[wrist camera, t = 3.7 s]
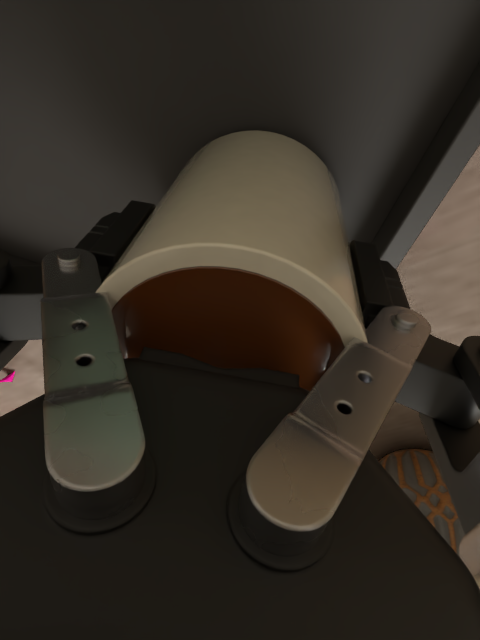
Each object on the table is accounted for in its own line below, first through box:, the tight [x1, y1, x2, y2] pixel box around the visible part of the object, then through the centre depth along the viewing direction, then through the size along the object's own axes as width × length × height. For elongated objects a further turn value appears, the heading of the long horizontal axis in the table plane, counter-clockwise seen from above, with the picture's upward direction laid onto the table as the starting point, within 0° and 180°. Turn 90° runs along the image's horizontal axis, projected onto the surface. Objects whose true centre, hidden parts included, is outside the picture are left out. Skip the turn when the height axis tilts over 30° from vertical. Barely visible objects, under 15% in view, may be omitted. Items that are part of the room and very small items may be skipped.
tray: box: [0, 0, 480, 269], centre depth 12 cm, size 18×22×2 cm
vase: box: [379, 449, 465, 557], centre depth 22 cm, size 7×7×9 cm
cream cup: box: [95, 130, 368, 392], centre depth 13 cm, size 9×6×8 cm
